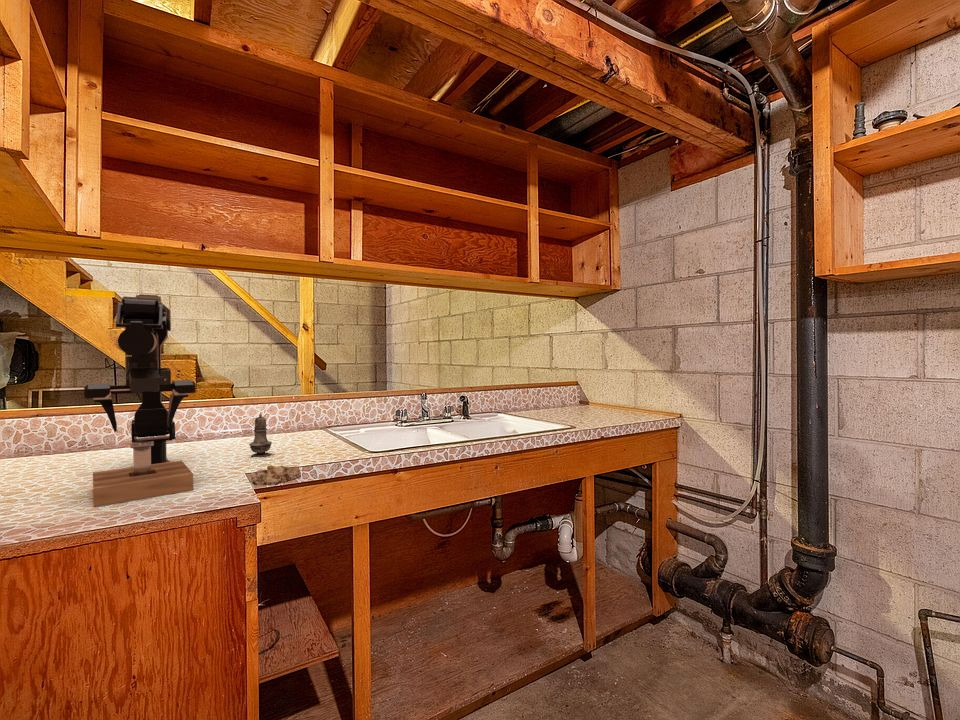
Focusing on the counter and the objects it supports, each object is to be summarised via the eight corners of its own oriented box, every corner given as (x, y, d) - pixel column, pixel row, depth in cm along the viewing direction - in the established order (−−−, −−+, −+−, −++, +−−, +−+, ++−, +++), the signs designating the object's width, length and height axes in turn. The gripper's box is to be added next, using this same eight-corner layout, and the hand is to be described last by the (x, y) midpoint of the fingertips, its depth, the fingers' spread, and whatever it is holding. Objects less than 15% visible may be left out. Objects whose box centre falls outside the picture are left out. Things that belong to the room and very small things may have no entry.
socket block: (93, 488, 96) (92, 472, 96) (181, 474, 107) (181, 460, 107) (93, 507, 84) (93, 488, 84) (193, 490, 95) (193, 473, 95)
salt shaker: (276, 455, 128) (276, 413, 128) (256, 459, 123) (256, 415, 123) (264, 452, 131) (264, 411, 131) (244, 456, 126) (244, 414, 126)
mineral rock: (255, 479, 96) (248, 462, 102) (253, 497, 97) (246, 479, 103) (307, 472, 102) (297, 456, 109) (304, 489, 103) (295, 473, 109)
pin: (130, 489, 96) (129, 442, 96) (153, 485, 98) (152, 440, 98) (131, 493, 93) (130, 445, 93) (155, 489, 95) (154, 442, 95)
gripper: (83, 356, 83) (84, 439, 84) (199, 355, 96) (200, 428, 96) (84, 356, 92) (85, 432, 92) (191, 355, 104) (191, 422, 104)
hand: (143, 428), depth 96 cm, fingers open, 9 cm apart
